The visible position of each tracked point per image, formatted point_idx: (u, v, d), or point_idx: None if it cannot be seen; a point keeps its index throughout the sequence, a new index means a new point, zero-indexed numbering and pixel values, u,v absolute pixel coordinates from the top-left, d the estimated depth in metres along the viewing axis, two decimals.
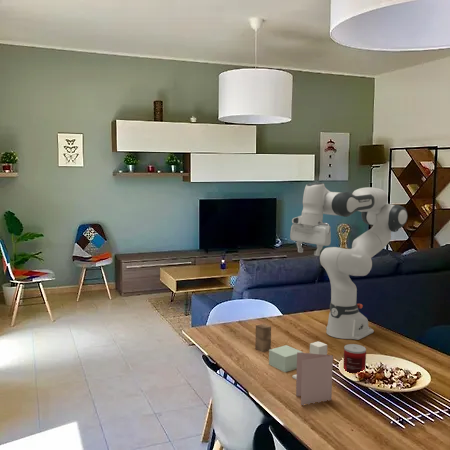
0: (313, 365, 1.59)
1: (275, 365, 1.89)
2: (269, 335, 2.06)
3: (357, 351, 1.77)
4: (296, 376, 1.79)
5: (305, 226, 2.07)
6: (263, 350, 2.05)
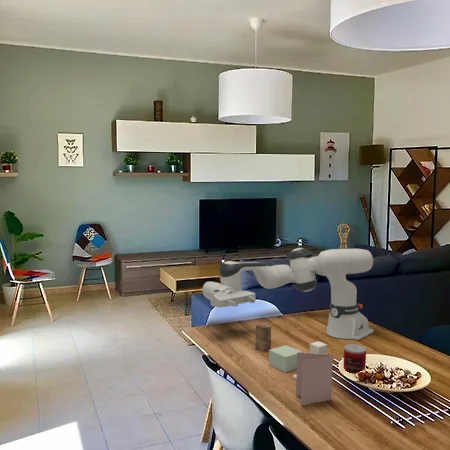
0: (313, 365, 1.59)
1: (275, 365, 1.89)
2: (269, 335, 2.06)
3: (357, 351, 1.77)
4: (296, 376, 1.79)
5: (229, 290, 2.25)
6: (263, 350, 2.05)
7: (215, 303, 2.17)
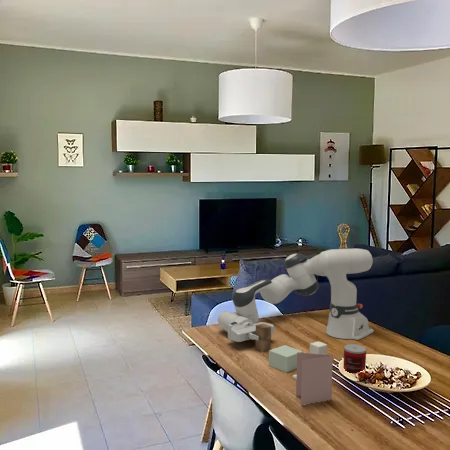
0: (313, 365, 1.59)
1: (276, 365, 1.88)
2: (269, 335, 2.06)
3: (357, 351, 1.77)
4: (296, 376, 1.79)
5: (247, 322, 2.15)
6: (263, 350, 2.05)
7: (233, 337, 2.07)
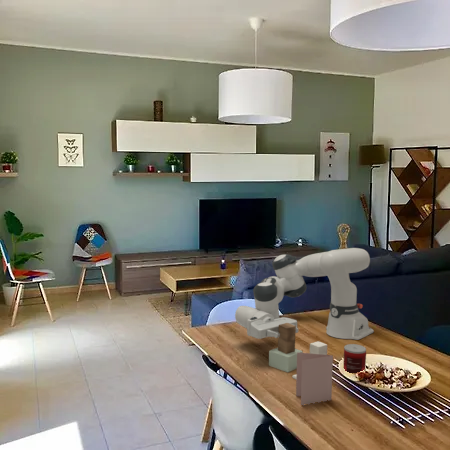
0: (313, 365, 1.59)
1: (276, 366, 1.88)
2: (293, 336, 1.88)
3: (357, 351, 1.77)
4: (296, 376, 1.79)
5: (267, 317, 1.98)
6: (287, 352, 1.87)
7: (253, 333, 1.90)
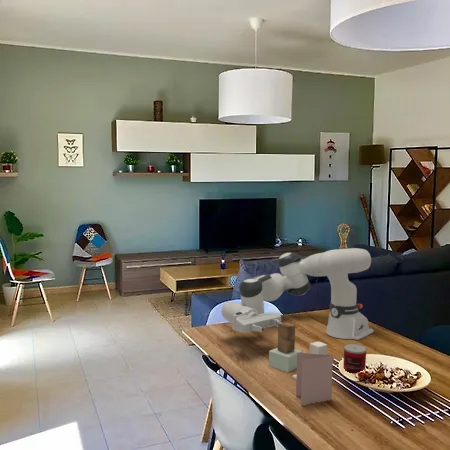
0: (313, 365, 1.59)
1: (276, 366, 1.88)
2: (293, 335, 1.89)
3: (357, 351, 1.77)
4: (296, 376, 1.79)
5: (252, 312, 2.04)
6: (287, 351, 1.87)
7: (238, 327, 1.96)
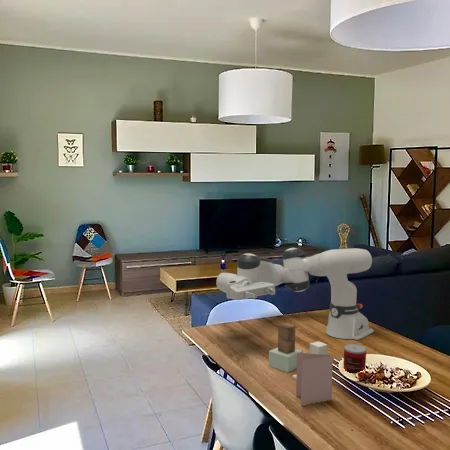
0: (313, 365, 1.59)
1: (276, 366, 1.88)
2: (293, 335, 1.89)
3: (357, 351, 1.77)
4: (296, 376, 1.79)
5: (246, 281, 2.06)
6: (287, 352, 1.87)
7: (232, 295, 1.98)
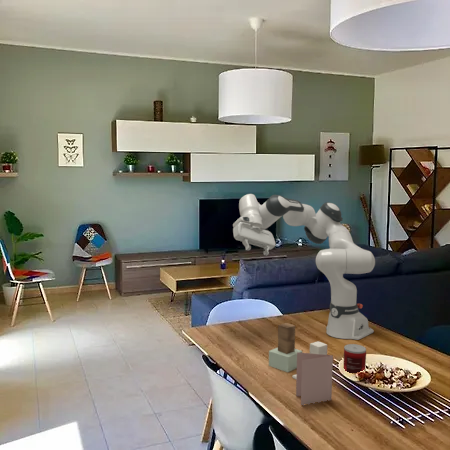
0: (313, 365, 1.59)
1: (276, 366, 1.88)
2: (293, 335, 1.89)
3: (357, 351, 1.77)
4: (296, 376, 1.79)
5: (257, 226, 2.15)
6: (287, 352, 1.87)
7: (235, 231, 2.10)
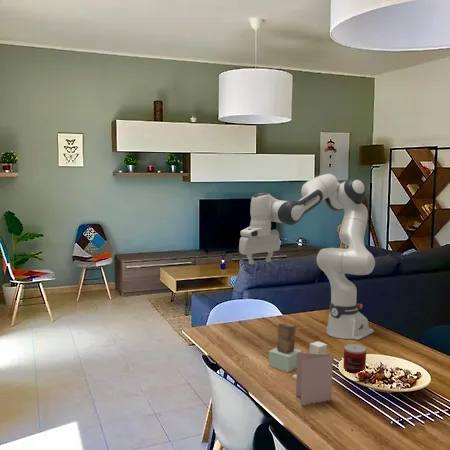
0: (313, 365, 1.59)
1: (276, 366, 1.88)
2: (293, 335, 1.89)
3: (357, 351, 1.77)
4: (296, 376, 1.79)
5: (264, 237, 2.11)
6: (287, 351, 1.87)
7: (241, 246, 2.09)
